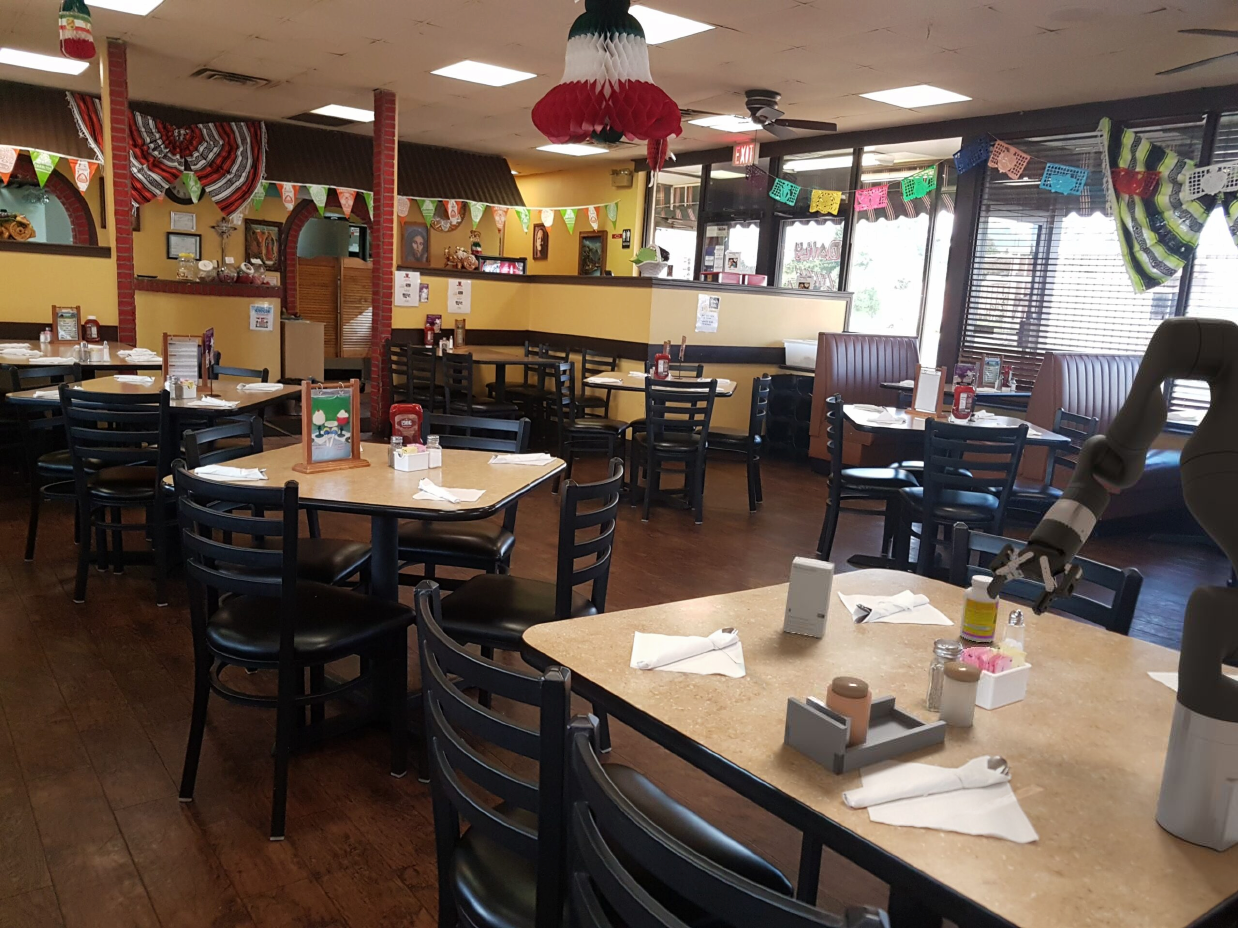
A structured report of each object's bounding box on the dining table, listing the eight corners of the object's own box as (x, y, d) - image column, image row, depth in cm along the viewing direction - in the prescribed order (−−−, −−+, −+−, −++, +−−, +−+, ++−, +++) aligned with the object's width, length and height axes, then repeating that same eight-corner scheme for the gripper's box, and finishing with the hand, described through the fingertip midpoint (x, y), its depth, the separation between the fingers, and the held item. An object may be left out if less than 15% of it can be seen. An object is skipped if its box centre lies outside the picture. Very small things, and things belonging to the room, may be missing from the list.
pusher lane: (943, 746, 142) (949, 698, 141) (836, 781, 130) (842, 728, 128) (888, 717, 151) (893, 671, 150) (783, 747, 139) (787, 697, 137)
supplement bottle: (996, 645, 187) (1004, 585, 185) (962, 641, 189) (970, 581, 186) (990, 634, 194) (998, 575, 191) (957, 630, 195) (964, 572, 193)
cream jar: (981, 723, 151) (988, 671, 149) (959, 730, 148) (966, 677, 146) (952, 709, 156) (959, 659, 154) (930, 716, 153) (937, 664, 151)
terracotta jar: (874, 752, 137) (882, 687, 135) (844, 762, 133) (851, 695, 132) (843, 734, 142) (849, 671, 140) (812, 743, 139) (819, 679, 137)
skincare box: (782, 632, 188) (789, 562, 185) (787, 623, 194) (794, 554, 191) (824, 639, 185) (831, 568, 183) (828, 630, 191) (835, 560, 188)
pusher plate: (846, 763, 132) (851, 717, 131) (836, 766, 131) (841, 720, 130) (807, 739, 139) (811, 695, 138) (797, 742, 138) (801, 698, 137)
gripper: (1018, 508, 163) (968, 578, 159) (1095, 528, 151) (1043, 604, 147) (1032, 534, 166) (983, 603, 162) (1108, 556, 155) (1058, 631, 151)
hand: (1012, 604), depth 155 cm, fingers open, 8 cm apart
